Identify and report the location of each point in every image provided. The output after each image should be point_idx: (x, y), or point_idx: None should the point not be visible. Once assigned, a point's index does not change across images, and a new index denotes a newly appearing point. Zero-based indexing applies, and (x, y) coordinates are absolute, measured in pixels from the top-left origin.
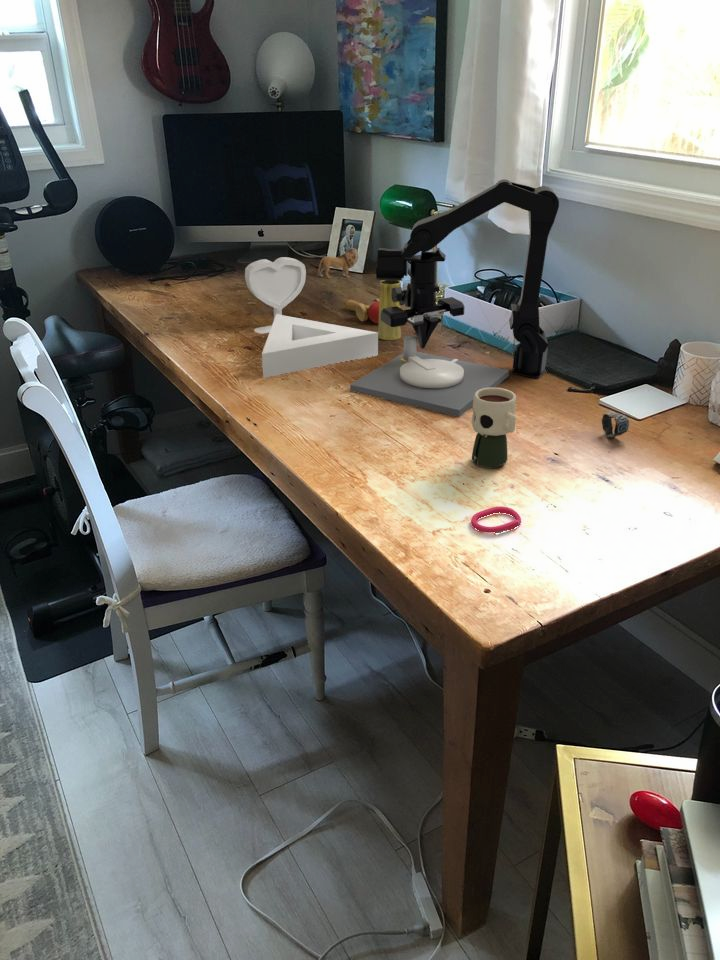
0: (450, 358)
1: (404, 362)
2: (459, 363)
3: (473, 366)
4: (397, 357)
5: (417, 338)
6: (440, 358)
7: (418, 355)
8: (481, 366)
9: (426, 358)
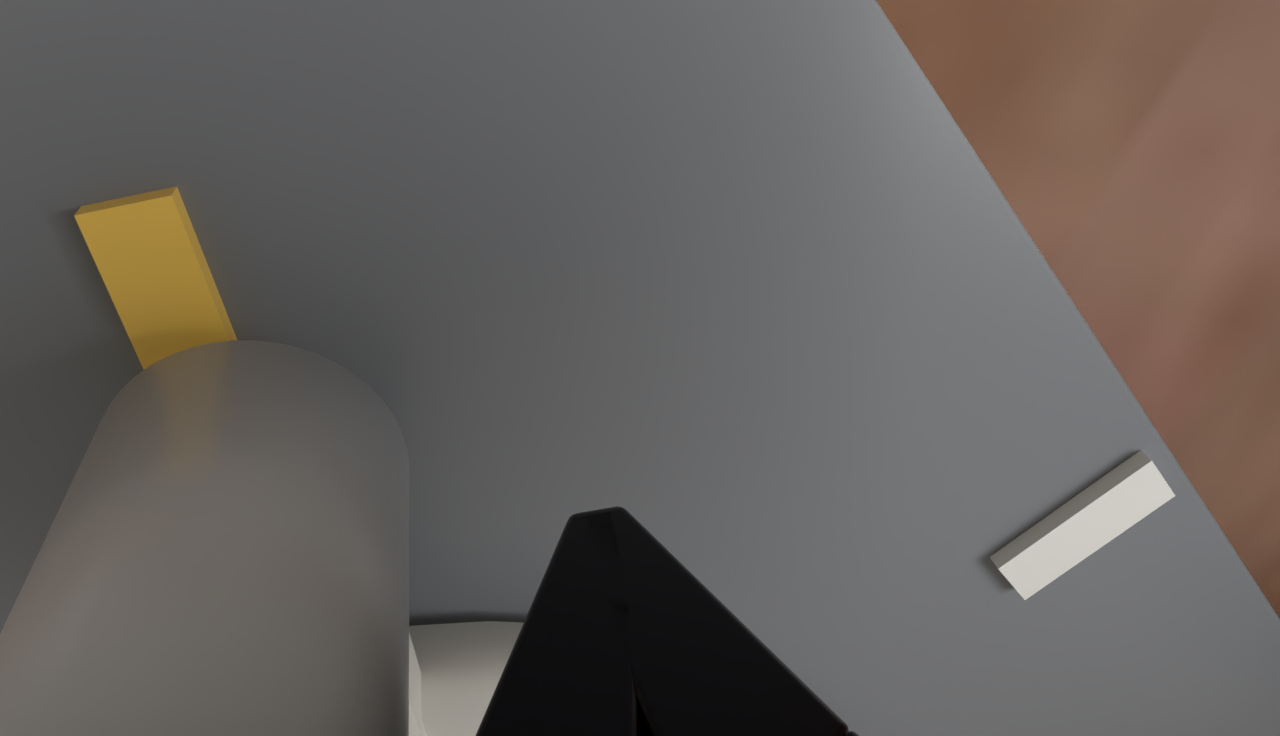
0: (1115, 378)
1: None
2: (1094, 601)
3: (1183, 720)
4: (28, 16)
5: (499, 685)
6: (958, 339)
7: (616, 44)
8: (1270, 731)
9: (706, 276)
